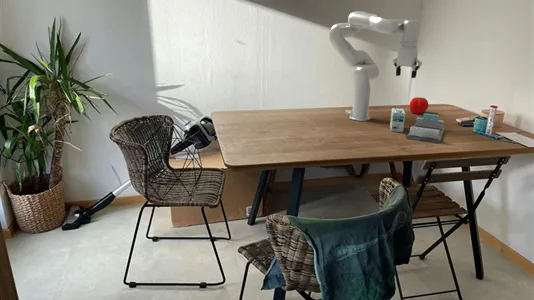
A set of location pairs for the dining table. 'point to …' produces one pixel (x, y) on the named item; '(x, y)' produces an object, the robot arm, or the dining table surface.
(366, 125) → the dining table surface
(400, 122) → the light bulb box
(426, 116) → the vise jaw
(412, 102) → the tomato
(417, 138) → the base
